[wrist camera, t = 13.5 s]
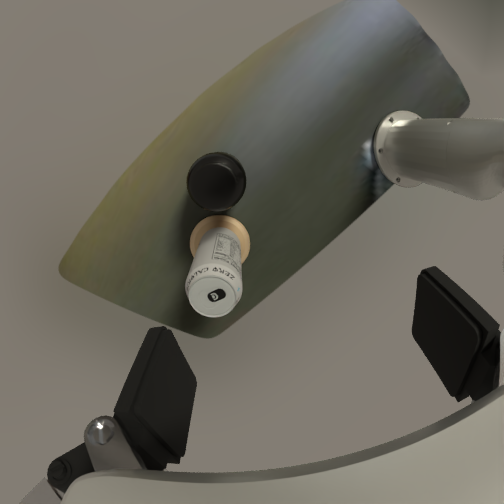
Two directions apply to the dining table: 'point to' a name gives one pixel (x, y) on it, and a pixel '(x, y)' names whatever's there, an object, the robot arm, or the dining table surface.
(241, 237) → the coaster
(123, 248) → the dining table surface
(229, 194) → the supplement bottle
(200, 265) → the energy drink can
